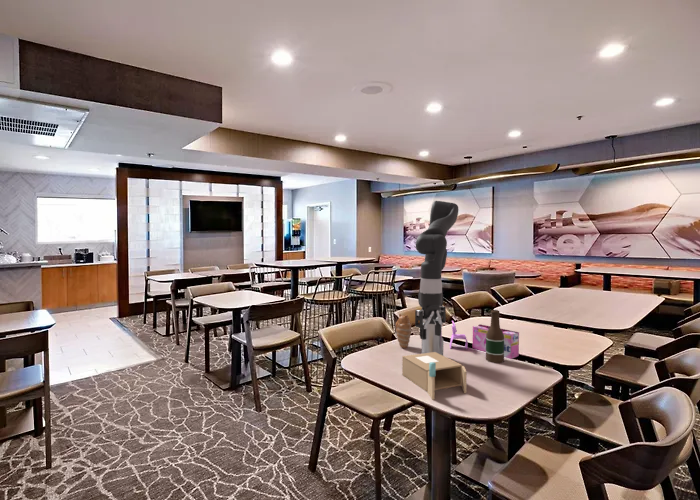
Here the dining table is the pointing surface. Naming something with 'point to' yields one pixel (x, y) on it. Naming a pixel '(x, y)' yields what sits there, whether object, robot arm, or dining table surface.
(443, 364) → the carton
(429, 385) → the flap
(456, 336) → the chair
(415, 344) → the dining table surface
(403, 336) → the brown ridged tapered piece
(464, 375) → the flap
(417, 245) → the robot arm
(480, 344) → the gum box
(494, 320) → the beer bottle
